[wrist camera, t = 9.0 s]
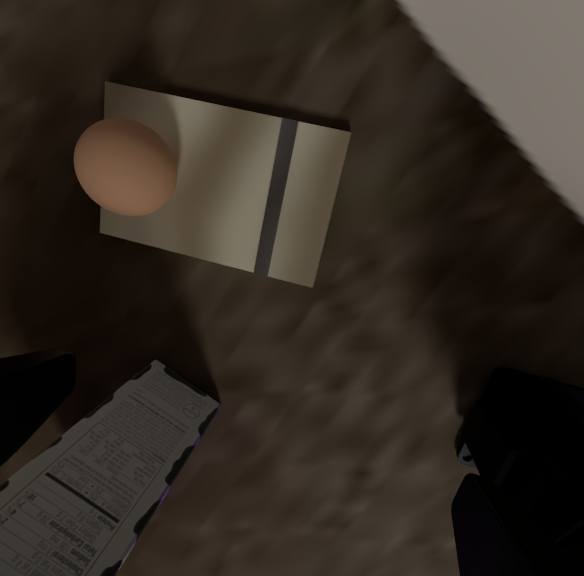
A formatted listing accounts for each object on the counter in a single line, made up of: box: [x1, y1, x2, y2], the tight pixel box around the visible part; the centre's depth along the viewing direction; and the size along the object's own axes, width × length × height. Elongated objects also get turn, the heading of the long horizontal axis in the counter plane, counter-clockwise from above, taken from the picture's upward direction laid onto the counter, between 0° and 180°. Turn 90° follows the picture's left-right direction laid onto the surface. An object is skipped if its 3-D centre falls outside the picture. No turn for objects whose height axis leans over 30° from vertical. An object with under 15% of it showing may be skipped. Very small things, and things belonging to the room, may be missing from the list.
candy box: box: [0, 360, 220, 576], centre depth 16 cm, size 14×6×16 cm, turn 147°
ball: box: [74, 118, 177, 216], centre depth 16 cm, size 4×4×4 cm
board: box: [100, 81, 351, 288], centre depth 18 cm, size 13×8×1 cm, turn 78°
